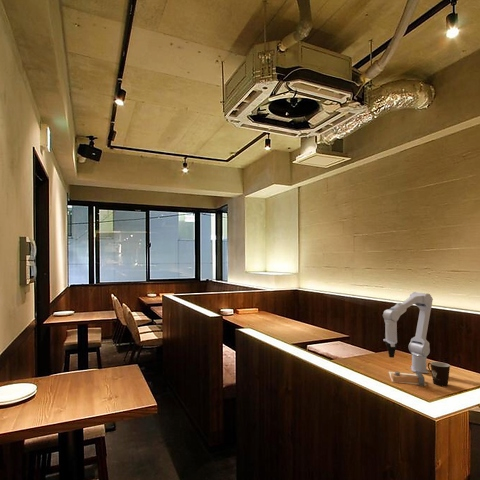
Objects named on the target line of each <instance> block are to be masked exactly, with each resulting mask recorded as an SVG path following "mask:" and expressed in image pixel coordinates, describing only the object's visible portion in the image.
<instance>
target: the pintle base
mask: <svg viewBox="0 0 480 480" xmlns="http://www.w3.org/2000/svg"><path fill="white" fill-rule="evenodd" d="M391 373H396V376H399V374H403V375H414V376H417V375H416V373H405V372H399V371H388V374H389V377H390V380H391V382H392V383H400V384H409V385H416V386H417V385H418V386H419V383H416V382H398V381H393V380H392V378H391ZM424 386H427V383H426V382H425V383H424Z"/></svg>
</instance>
